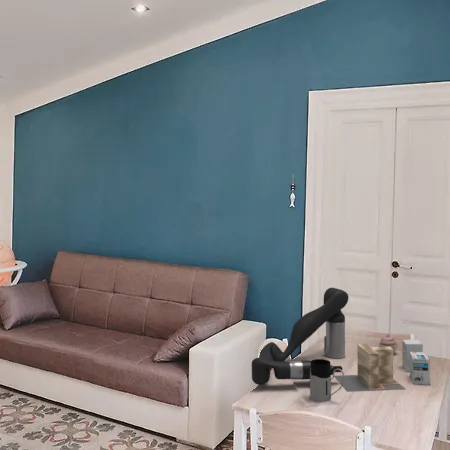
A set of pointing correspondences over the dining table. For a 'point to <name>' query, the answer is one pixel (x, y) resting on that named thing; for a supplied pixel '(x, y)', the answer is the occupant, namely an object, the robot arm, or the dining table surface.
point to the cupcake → (388, 342)
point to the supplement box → (407, 348)
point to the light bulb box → (419, 368)
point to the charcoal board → (356, 384)
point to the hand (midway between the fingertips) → (341, 369)
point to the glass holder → (321, 380)
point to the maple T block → (375, 365)
